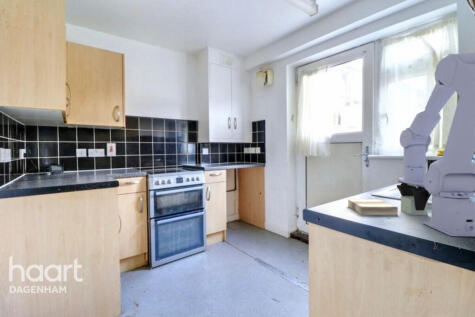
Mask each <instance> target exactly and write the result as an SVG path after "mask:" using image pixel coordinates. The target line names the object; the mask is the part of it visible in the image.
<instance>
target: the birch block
mask: <svg viewBox="0 0 475 317" xmlns="http://www.w3.org/2000/svg"><path fill="white" fill-rule="evenodd" d="M347 200H348V203H347V205H348V207H349V208H351V209H352V210H354V211H356V212H357V213H358V214H360V215H362V216H398V214H399V210H398V209H399V208H398V206H396V205H394V204H391V203H389V202H386V201H384V200H381V199H379V198H377V199H375V198H374V199H370V198H367V199H366V198H365V199H363V198H360V199H357V198H355V199H354V198H353V199H351V198H350V199H347Z"/></svg>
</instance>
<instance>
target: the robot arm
mask: <svg viewBox="0 0 475 317" xmlns="http://www.w3.org/2000/svg"><path fill="white" fill-rule="evenodd" d="M433 73H434V74H433V75H434V81H435V84H434V87H433V89H432V92H431V94H430V96H429V98H428V101H427V103H426V105H425V107H424V109H422V110H419V111H417V113H416V115H415V116H414V118H413V120H412V121H411V124H410V125H409V127H407V128H405V129H403V130H402V131H401V132H400V134H399V144H400V147H402V148H403V169H402V170H403V176H402V177H400V176H399V177H396V178H397V179H396V180H397V181H396V183H397V184H396V188H397V189H398V191H399V193H400V195H401V196H414V201H415V208H416V210H424V209H425V206H426V203H427V201H428V200H430V199H429V198H430V197H431V221H423V222H422V223H423V224H424V225H426V226H428V227H430V228H432V229H435V230H437V231H439V232H441V233H444V234H446V235H448V236H450V237H475V201H473V200H472V199H471V198H474V196H475V163H474V162H473V158H474V156H475V52H465V53H464V52H463V53H447V54H445V55H444V56H443V57H442V58H441V59H440V60H439V61H438V62H437V64H436V68H435V71H434V72H433ZM455 92H456V93H457V94H458V99H457V100H458V101H457V104H456V106H455V107H456V108H455V110H454V114H453V118H452V122H451V125H450V129H449V132H448V136H447V139H446V143H445V146H444V150H443V154H442V157H441V158H439V159H437V160H435V161H433V162H432V163H430V165H429V168H428V169H427V164H426V163H427V162H426V161H427V153H428V152H429V146H430V144H431V142H432V138H431V134H432V133H433V131H434V130H435V128H436V126H437V125H438V123H439V122H440V120H441V115H440V112H441V110H443V108H444V107H445V105H446V104H447V103H448V102H449V100H450V99H451V98H452V96H453V95H454V94H455ZM426 169H427V170H426ZM417 187H418V188H417ZM401 196H400V197H401ZM428 202H429V201H428Z"/></svg>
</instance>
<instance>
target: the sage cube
mask: <svg viewBox="0 0 475 317" xmlns="http://www.w3.org/2000/svg"><path fill="white" fill-rule="evenodd" d="M428 202H429V201H427V203H426V206H425V209H424V210H416V208H415V201H414V196H400V211H401V212H402V213H405V214H407V215H410V216H428V215H429V214H428V211H429V210H428V208H429V204H428Z"/></svg>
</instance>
